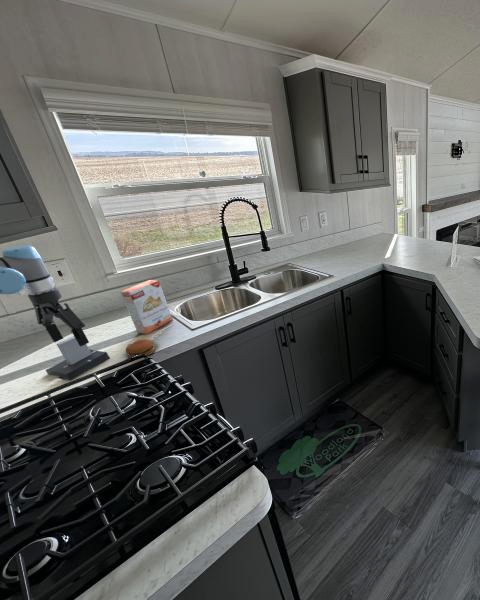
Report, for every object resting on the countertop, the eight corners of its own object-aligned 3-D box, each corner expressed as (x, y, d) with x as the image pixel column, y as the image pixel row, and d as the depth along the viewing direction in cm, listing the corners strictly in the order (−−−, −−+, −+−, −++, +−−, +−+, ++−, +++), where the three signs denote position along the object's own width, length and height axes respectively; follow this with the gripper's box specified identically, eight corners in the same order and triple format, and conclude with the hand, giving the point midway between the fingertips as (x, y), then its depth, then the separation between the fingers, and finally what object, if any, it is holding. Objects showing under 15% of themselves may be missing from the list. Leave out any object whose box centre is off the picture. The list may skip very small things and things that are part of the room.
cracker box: (147, 334, 146) (129, 292, 137) (137, 333, 148) (118, 291, 139) (174, 319, 159) (159, 280, 150) (164, 318, 160) (148, 279, 151)
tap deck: (70, 380, 118) (66, 373, 117) (49, 376, 121) (44, 369, 120) (110, 358, 130) (107, 351, 129) (89, 355, 133) (86, 348, 132)
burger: (158, 352, 133) (154, 342, 131) (130, 362, 127) (125, 352, 125) (154, 343, 140) (150, 334, 138) (127, 352, 134) (122, 343, 132)
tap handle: (71, 364, 122) (59, 344, 118) (67, 364, 123) (55, 343, 119) (91, 354, 128) (81, 334, 124) (88, 353, 129) (77, 333, 125)
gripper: (79, 288, 113) (106, 340, 122) (30, 284, 119) (59, 333, 129) (54, 298, 107) (84, 351, 116) (4, 292, 113) (36, 343, 122)
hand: (71, 342), depth 122 cm, fingers open, 13 cm apart
